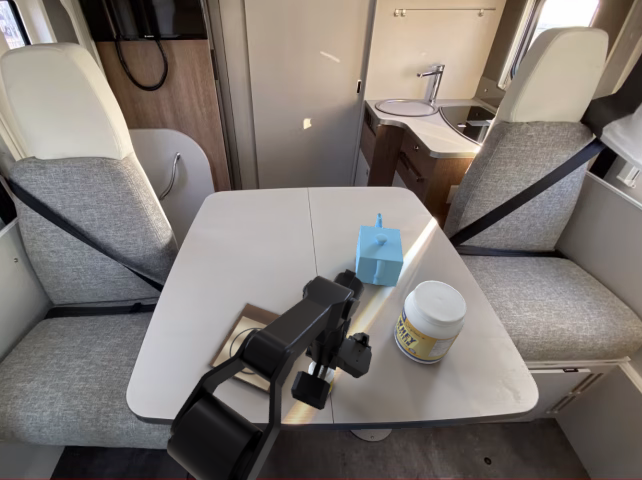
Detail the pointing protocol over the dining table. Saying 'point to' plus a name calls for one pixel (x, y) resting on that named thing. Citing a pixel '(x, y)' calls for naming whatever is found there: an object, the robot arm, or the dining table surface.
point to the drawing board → (242, 327)
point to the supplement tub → (430, 321)
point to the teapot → (379, 254)
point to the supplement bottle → (329, 374)
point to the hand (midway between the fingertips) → (321, 372)
